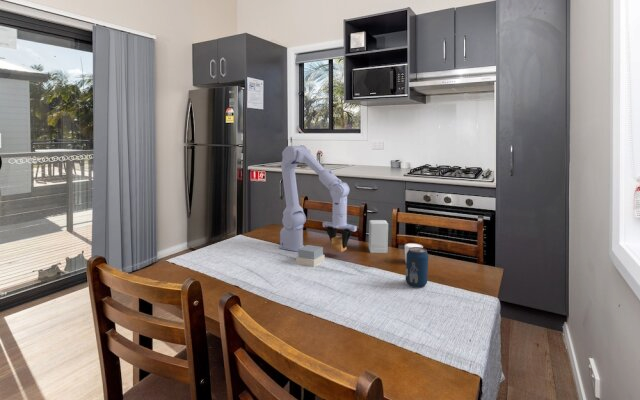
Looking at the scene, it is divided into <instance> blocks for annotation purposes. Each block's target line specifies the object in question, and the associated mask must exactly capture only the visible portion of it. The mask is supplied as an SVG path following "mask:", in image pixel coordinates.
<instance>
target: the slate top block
mask: <svg viewBox="0 0 640 400" xmlns="http://www.w3.org/2000/svg"><path fill="white" fill-rule="evenodd" d="M321 255H324V247H323V246H318V245H317V246H316V245H312V244H306V245H304V247H302V248H300V249H298V251H297V256H298V257H302V258H308V259H313V260H314V259H316V258H318V257H320V256H321Z"/></svg>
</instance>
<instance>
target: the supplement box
mask: <svg viewBox="0 0 640 400" xmlns="http://www.w3.org/2000/svg"><path fill="white" fill-rule="evenodd" d="M388 239H389V223H388V221H387V220H384V219H371V220H369V221H368V246H367V247H368V251H369V253H370V254H388V247H389V246H388V244H389V240H388Z"/></svg>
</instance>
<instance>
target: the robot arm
mask: <svg viewBox="0 0 640 400" xmlns="http://www.w3.org/2000/svg"><path fill="white" fill-rule="evenodd" d="M281 155H282V160H281V164H280V167H281V168H280V169H281V174H282V175H281V176H282V181H283V182H282V183H283V191H284V198H285V199H284V200H285V204H286V205H285V208H284V210H283V212H282V221H281V222H282V226H283V227H282V228H281V229H280V232H279V242H280V243H279V247H278V248H279V249H281V250H286V251H287V250H289V251H292V252H298V249H300V248H302V247H304V246H305V245H304V237H303V235H304V231H303V229H304V224H305V223H306V221H307V216H306V214H305V212H304V208H303V207H302V206H301V205H300V200H299V193H298V187H297V185H298V183H297V177H296V170H295V169H296V167H298V165H299V164H300V163H301V164H302V163H304V164H305V165H307V166H308V167H309V168H310V169H311V170H312V171H314V172H315V173H316V175H318V180H319V182H321V183H322V185H324V186H325V188H327V189H328V190H329V195H330V197H331V199H332V201H331V202H332V209H331V210H332V215H331V216H332V217H331V218H332V219H331V221H323V222H322V227H323V228H326V229H325V231H326V233H327V234H328V236H329V240H330V245H331V244H332V238H333V237H336V236H337V231H338V230H342V231H340V233H341V237H342V239H343V248H345V247H347V246H348V242H349V240H350V238H351V235H352V233H353V232H354V233H355V232H356V231H358V228H357V227H358V226H357V225H354V224H349V223H348V222H347V221H348V217H347V216H348V195H349V194H350V192H351V189H350V186H349V184H348V183H347V182H346V181H344V182H343V181H342V180H341V178H338V177H337V176H336V174H334V170H330V169H328V168H327V169H325V168H324V167H323V165H322V164H321V163H320V162H319V160H317V159H316V157H315V156H314V155H313V154H312V153H311V151H310V149H308V148H307V147H306V146H305V145H302V144H301V145H287V146H286V147H285V148H284V149H283V151H281Z"/></svg>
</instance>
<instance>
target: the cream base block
mask: <svg viewBox="0 0 640 400" xmlns="http://www.w3.org/2000/svg"><path fill="white" fill-rule="evenodd" d="M325 260H326V259H325V254H323V255H321V256H320V257H318V258H316V259H314V260H313V259H308V258H302V257H298V255H297V256H296V257H295V264H297V265H301V266H307V267H311V268H314V267H315V268H316V267H317V266H318V265H320V264H323V263H324V262H325Z"/></svg>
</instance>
